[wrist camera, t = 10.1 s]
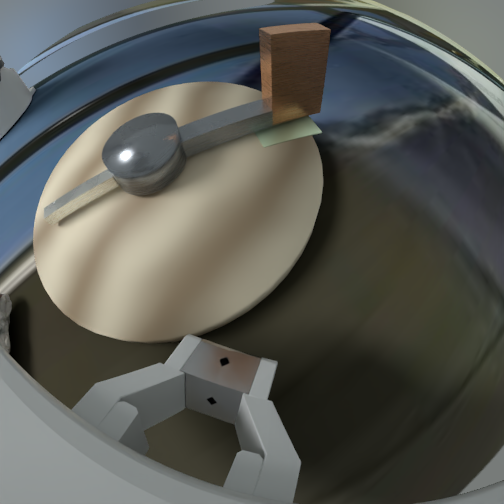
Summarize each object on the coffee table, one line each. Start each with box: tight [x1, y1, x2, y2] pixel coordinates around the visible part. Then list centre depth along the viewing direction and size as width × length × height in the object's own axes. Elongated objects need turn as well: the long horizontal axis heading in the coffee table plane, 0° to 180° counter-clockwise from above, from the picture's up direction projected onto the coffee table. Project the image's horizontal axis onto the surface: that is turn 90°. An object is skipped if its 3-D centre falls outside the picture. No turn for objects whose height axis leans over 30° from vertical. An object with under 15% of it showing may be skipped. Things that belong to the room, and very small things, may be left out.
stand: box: [33, 82, 323, 344], centre depth 17 cm, size 22×22×2 cm
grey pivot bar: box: [44, 23, 331, 225], centre depth 13 cm, size 21×5×7 cm, turn 115°
